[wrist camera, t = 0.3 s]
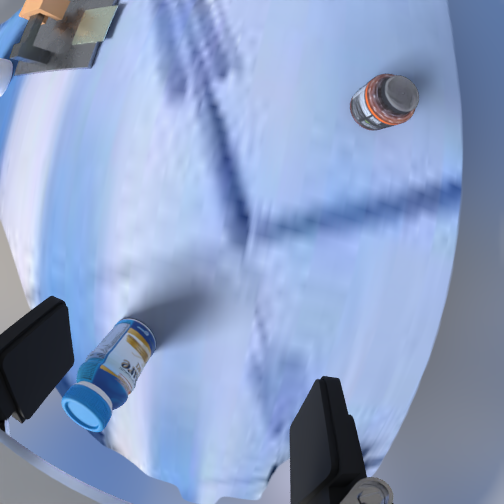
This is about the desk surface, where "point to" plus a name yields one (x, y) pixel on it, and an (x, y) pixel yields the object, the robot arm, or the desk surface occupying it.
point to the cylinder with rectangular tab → (5, 74)
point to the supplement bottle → (384, 102)
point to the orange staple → (45, 9)
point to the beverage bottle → (109, 374)
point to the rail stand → (64, 38)
